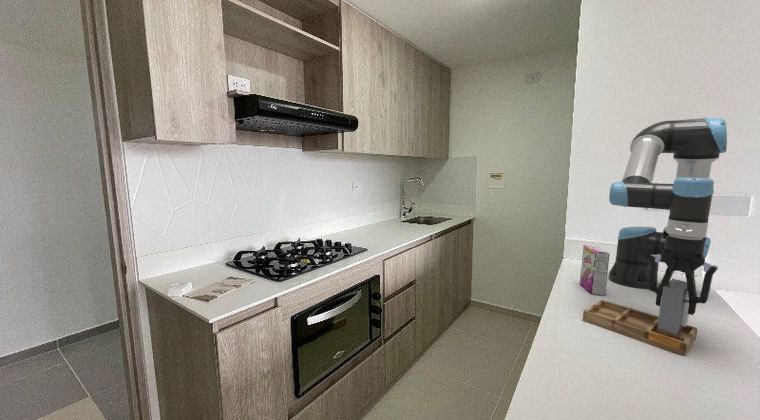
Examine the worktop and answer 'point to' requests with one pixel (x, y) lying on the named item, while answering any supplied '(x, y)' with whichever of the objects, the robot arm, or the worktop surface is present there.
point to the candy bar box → (594, 269)
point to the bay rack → (639, 326)
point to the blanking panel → (673, 306)
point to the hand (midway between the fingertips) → (672, 321)
